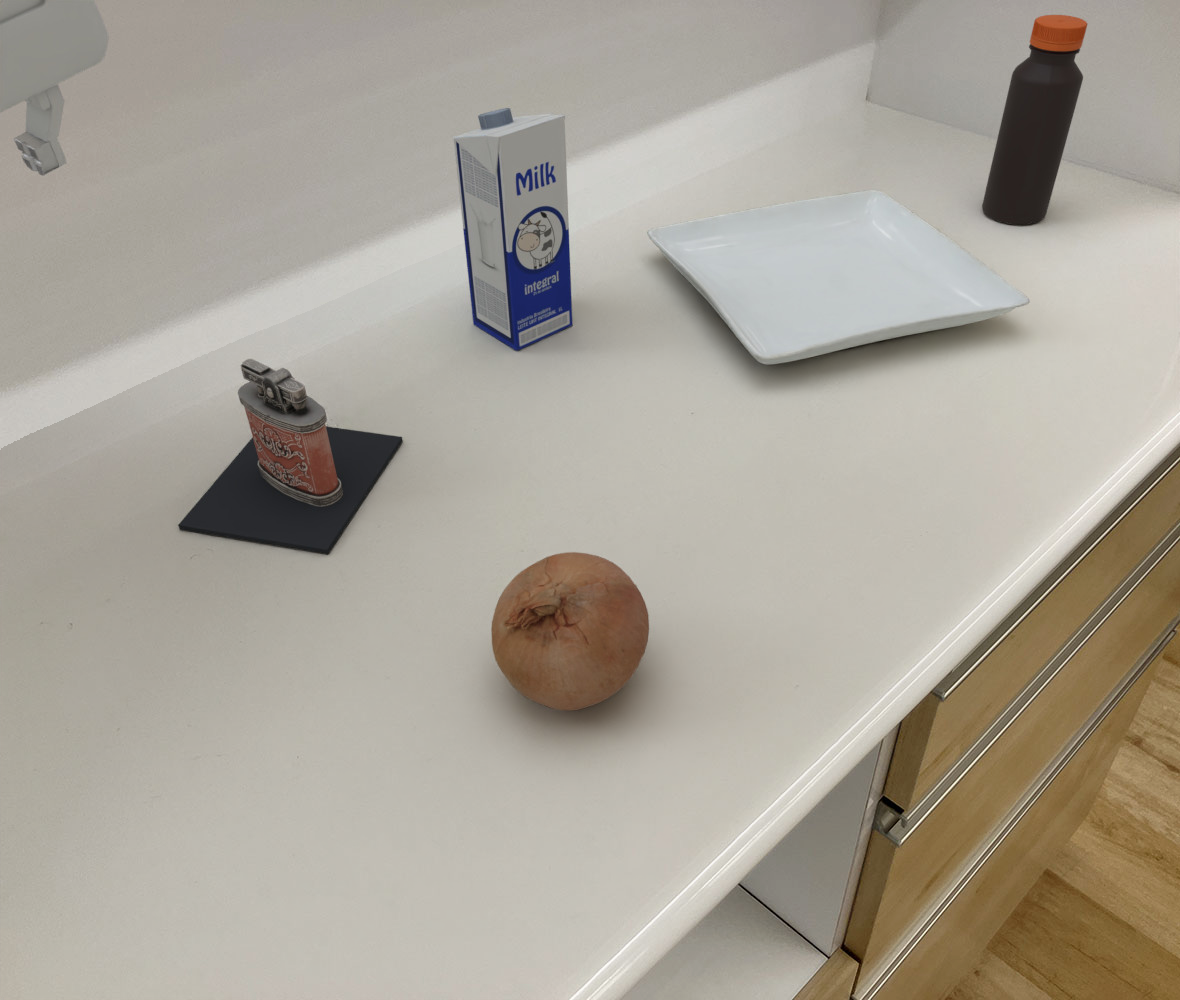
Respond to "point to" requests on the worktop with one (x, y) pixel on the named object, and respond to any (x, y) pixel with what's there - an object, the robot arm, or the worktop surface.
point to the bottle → (1036, 123)
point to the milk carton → (516, 225)
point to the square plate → (832, 274)
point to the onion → (570, 630)
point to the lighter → (289, 435)
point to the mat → (278, 519)
